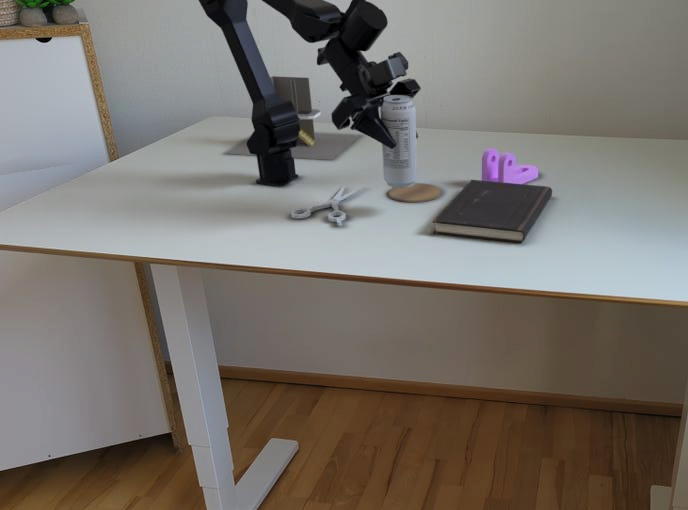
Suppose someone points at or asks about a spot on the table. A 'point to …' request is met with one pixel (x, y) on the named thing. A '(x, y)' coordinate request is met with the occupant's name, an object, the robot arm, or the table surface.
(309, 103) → the architectural model
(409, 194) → the coaster
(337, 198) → the scissors
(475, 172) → the table surface
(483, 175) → the bracket
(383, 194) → the table surface
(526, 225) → the hardcover book
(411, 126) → the energy drink can
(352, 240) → the table surface
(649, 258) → the table surface
